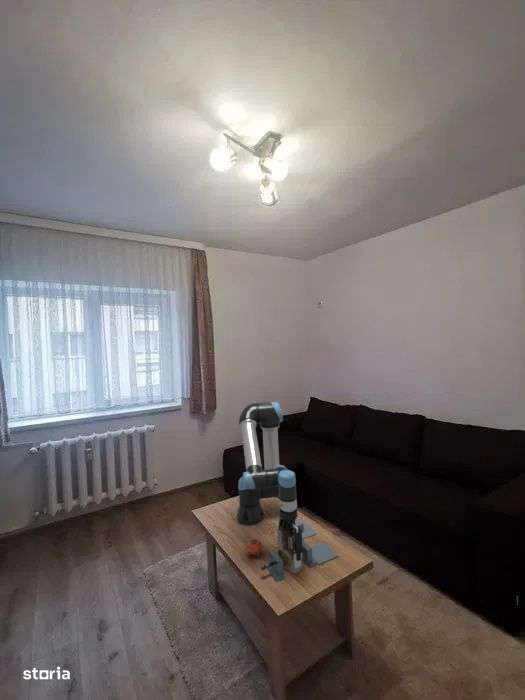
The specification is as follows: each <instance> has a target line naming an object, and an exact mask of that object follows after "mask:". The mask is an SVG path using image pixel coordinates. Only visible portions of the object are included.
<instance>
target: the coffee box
mask: <svg viewBox="0 0 525 700" xmlns="http://www.w3.org/2000/svg"><path fill="white" fill-rule="evenodd" d="M276 532H277V534H276V535H277V545H278V546H277V548H278V549H277V550H278V554H279V556H280V557H281V558H282V560H283V569H285V570H287V571H289V572H291V573H292V574H294V575H297V573H299V572H300V571H301V570H302V569H303V568H304V566H305V565H304V562H303V553H301V554H300V555H301V566H300V567H298V568H295V566H294V553H293V552H295V550H294V546H293V541H294V540H295V538H294V534H292V535H290V534H289V532H288V530H287V529H286V527H284V528H283V526H281V527H280V528H278V529H277V531H276ZM291 532H293V531H291ZM300 535H301V541H302V529H300Z"/></svg>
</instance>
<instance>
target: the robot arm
mask: <svg viewBox="0 0 525 700" xmlns="http://www.w3.org/2000/svg"><path fill="white" fill-rule="evenodd" d="M283 421H284V416H283V411H282V408H281V404H280V403H279V402H277V401H267V402H266V401H265V402H256V403H254V402H253V403H250V404H248V405H246V406H245V407H244V408H243V409H242V411H241V413H240V415H239V419H238V427H239V430H241V435H242V436H241V438H242V445H243V446H242V447H243V455H244V462H245V470H246V471H244V472H243V473H242V476H241V477H240V478H239V480H238V486H237V487H238V499H239V506H238V509H237V514H236V519H237V523H239V524H241V525H244V526H253V525H257V524H259V523H261V522H262V521H263V520H264V518H265V513H264V511H263V507H262V505H261V500H262V499H271V498H278V497H279V498H278V499H279V503H278V505H279V518H278V519H279V520H278V521H279V522H278V528H280V527H281V526H283V528H284V527H286V529H287V530H288V532H289V534H290V535H292V534H294V538H295V540H294V541H293V546H294V550H295V552H293V553H294V566H295V568H298V567H300V566H301V555H300V554H301V553H303V552H304V551H303V546H302V541H301V535H300V527H299V526H298V527H297V526H296V524H295V521H296V520H297V518H298V502H297V501H298V500H297V498H298V497H297V484H296V482H297V479H296V473H295V472H294V471H292V470H289V469H288V468H287V467H286V466H285V465H282V464H280V455H279V454H280V452H279V430H278V429H279V428H280V426H281V423H282V422H283ZM257 425H259V427H260V429H261V430H262V445H263V462H264V464H263V465H264V469H263V468H262V467H263V466H262V461H261V454H260V447H259V442H258V441H259V440H258V436H257V430H256V429H257ZM291 531H293V532H291Z"/></svg>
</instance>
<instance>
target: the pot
mask: <svg viewBox="0 0 525 700" xmlns="http://www.w3.org/2000/svg"><path fill="white" fill-rule="evenodd" d="M263 548H264V546H263V542H261V540H259V539H257V538H252V539H251V540H250V541H248V542H247V544H246V545H245V550H246V552H247V555H248V556H250V555H251V556H253V555H254V556H255V555H256V556H257V558H259V557H260V553H261V552H262V550H263Z"/></svg>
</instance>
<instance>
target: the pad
mask: <svg viewBox="0 0 525 700" xmlns="http://www.w3.org/2000/svg"><path fill="white" fill-rule="evenodd" d="M310 547H311V548H312V557H313V558H314V559H315V560H316V561H317V566H321V565H323V564H325V563H327V562H330V561H333V560H335V559H337V558H339V557H340V556H339V554H338V553H337V552H336V551H334V549H332V548H331V547H330V546H329V545H328V544H327V543H326V542H325V541H323V542H320V543H317V544H315V545H313V546H310Z"/></svg>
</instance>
